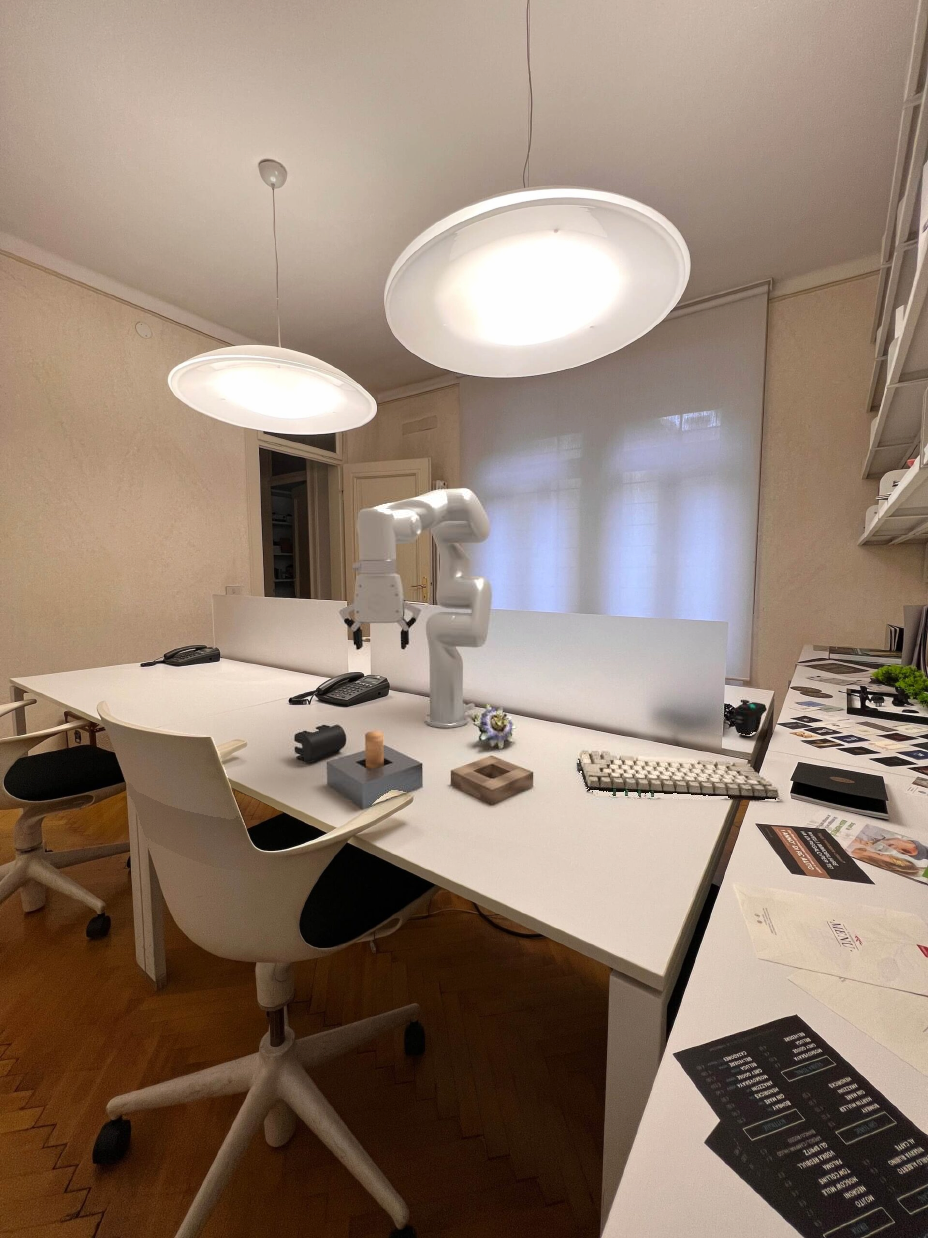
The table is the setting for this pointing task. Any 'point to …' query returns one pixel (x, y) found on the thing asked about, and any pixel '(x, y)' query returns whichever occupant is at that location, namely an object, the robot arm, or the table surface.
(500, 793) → the frame
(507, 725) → the passion flower
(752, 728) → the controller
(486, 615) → the robot arm
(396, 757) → the socket block
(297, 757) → the end cap
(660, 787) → the mechanical keyboard
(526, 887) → the table surface
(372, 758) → the pin
